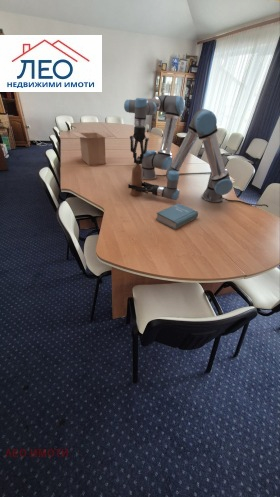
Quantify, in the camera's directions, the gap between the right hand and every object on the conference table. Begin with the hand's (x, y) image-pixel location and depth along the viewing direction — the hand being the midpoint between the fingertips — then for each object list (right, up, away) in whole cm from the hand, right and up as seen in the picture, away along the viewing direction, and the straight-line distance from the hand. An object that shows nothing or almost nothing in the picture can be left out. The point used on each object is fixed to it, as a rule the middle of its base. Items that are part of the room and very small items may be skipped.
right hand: (131, 184), depth 170 cm
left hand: (+5, +12, -11) cm, 17 cm away
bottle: (+4, -7, +3) cm, 8 cm away
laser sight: (+14, +44, +73) cm, 86 cm away
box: (-43, +44, +66) cm, 91 cm away
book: (+31, -31, -27) cm, 51 cm away
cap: (+5, +14, -13) cm, 19 cm away
